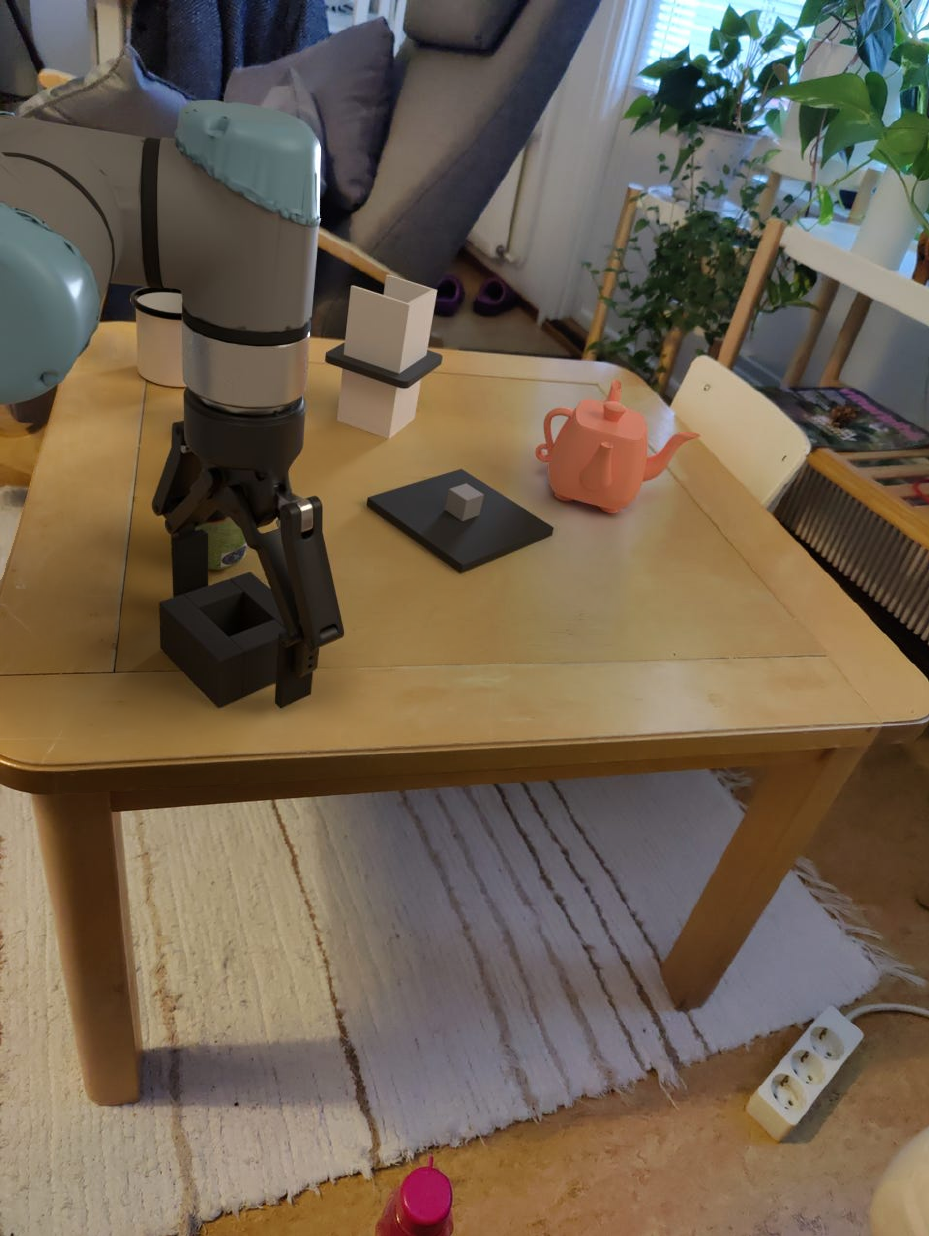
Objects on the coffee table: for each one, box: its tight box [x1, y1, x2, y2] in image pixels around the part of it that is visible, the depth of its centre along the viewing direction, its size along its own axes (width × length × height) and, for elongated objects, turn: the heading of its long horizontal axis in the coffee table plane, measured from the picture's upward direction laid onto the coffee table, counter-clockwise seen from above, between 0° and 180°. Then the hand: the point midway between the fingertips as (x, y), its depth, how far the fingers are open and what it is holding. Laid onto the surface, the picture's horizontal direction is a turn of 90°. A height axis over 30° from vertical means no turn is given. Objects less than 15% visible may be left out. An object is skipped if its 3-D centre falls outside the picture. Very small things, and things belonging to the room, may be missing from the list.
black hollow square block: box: [158, 571, 300, 709], centre depth 66 cm, size 8×8×4 cm
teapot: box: [534, 379, 701, 514], centre depth 99 cm, size 14×14×11 cm
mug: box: [129, 287, 187, 388], centre depth 104 cm, size 12×10×9 cm
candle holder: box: [324, 274, 444, 440], centre depth 102 cm, size 25×24×16 cm
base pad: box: [366, 468, 555, 574], centre depth 90 cm, size 14×14×4 cm
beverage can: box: [195, 509, 249, 571], centre depth 74 cm, size 6×7×12 cm
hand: (239, 649), depth 67 cm, fingers open, 13 cm apart
